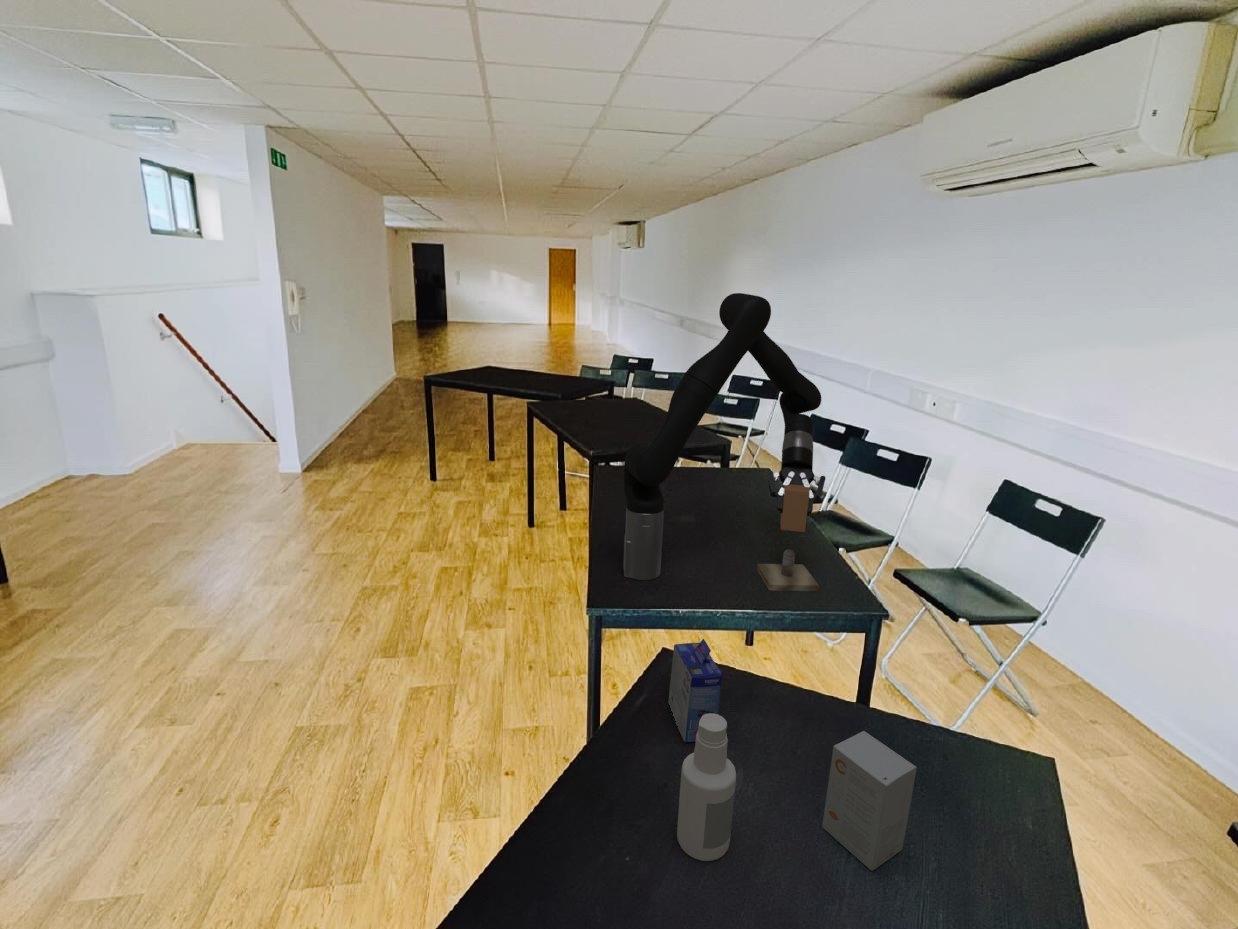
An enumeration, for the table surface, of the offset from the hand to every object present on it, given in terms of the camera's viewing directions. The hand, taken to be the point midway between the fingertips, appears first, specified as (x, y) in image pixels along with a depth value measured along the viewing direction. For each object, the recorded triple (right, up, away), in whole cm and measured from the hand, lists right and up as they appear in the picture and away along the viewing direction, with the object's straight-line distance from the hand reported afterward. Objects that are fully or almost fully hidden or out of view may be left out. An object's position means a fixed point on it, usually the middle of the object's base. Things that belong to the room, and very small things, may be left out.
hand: (794, 512), depth 152 cm
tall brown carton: (0, -4, +3) cm, 5 cm away
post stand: (0, -17, +6) cm, 18 cm away
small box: (-10, -38, -68) cm, 79 cm away
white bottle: (-31, -38, -69) cm, 85 cm away
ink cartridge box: (-30, -31, -47) cm, 64 cm away
